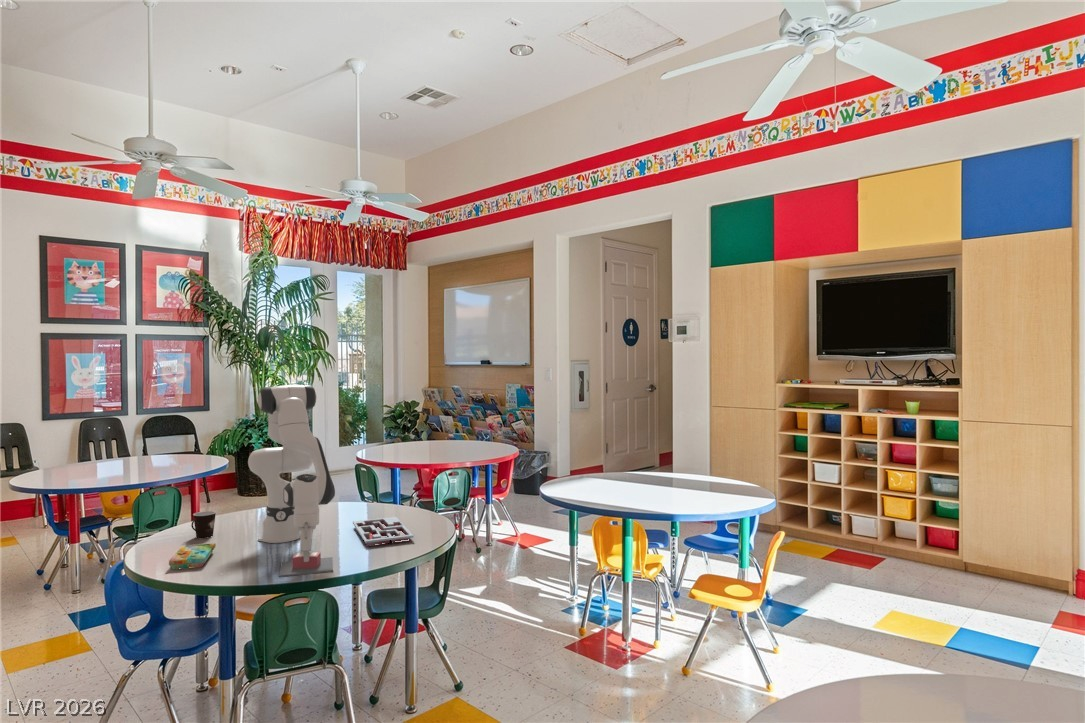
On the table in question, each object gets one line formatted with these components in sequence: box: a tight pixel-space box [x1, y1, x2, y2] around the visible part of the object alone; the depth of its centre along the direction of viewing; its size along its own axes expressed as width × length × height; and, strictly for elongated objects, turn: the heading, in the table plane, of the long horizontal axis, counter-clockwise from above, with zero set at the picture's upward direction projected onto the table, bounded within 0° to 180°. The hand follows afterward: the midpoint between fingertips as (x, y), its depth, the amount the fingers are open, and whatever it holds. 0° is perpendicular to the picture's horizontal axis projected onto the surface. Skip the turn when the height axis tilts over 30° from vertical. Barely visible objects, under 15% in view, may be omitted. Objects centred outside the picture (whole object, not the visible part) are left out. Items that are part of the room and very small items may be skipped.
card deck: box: [291, 551, 322, 569], centre depth 237 cm, size 9×6×4 cm, turn 96°
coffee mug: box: [190, 510, 217, 539], centre depth 277 cm, size 12×9×10 cm
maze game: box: [352, 516, 415, 547], centre depth 281 cm, size 35×20×3 cm, turn 24°
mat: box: [278, 556, 334, 578], centre depth 237 cm, size 16×18×1 cm
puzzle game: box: [168, 542, 217, 570], centre depth 245 cm, size 12×5×20 cm
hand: (306, 557), depth 237 cm, fingers open, 8 cm apart
